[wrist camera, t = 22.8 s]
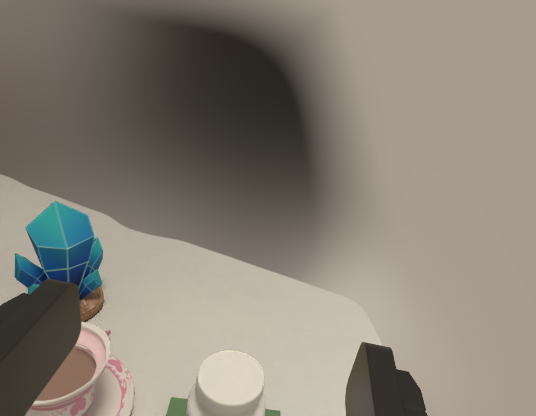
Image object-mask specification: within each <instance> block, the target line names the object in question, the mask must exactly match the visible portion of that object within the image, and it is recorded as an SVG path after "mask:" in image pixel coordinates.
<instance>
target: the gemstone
mask: <svg viewBox="0 0 536 416" xmlns="http://www.w3.org/2000/svg"><path fill="white" fill-rule="evenodd" d="M26 230H27V232H28V235H29V237H30V240H31V242H32V244H33V247H34V249H35V252H36V254H37V256H38V259H39V261H40V263H41V266H42V268H43V269H42V268H40V267H38V266H36V265H35V264H33V263H32V262H30V261H29V260H28V259H26V258H25V257H22V256H20V255H18V254H16V253H15V278H16V279H17V280H18V281H19V282H21V283H22V284H23V285H25V286H26V287H27V288H28V294H31V293H32V292H33V291H34V290H35V289H36V288H37V287H38V286H39V285H40V284H41V283H42V282H43V281H45V280H46V279H55V280H60V281H65V282H70V283H74V284H77V286H78V288H79V299H80V312H81V322H83V321H85V320H87V319H89V318H90V317H92V316H93V315H95V314H96V313H97V312H98V311H99V310H100V308H101V307H102V305H103V301H104V295H103V291H102V289H101V287H100V286H101V285H102V282H101V278H100V275H99V272H98V269H99V266H100V264H101V261H102V258H103V250H102V247H101V244H100V242H99V239H98V237H97V238H95V239H94V236H95V235H94V232H93V229H92V226H91V223H90V220H89V217H88V215H87V214H84V213H82V212H80V211H77V210H75V209H73V208H70V207H68V206H66V205H63V204H61V203H59V202H56V201H54V202H53V203H52V204H51V205H50V206H49V207H47V208H46V209H45V210H44V211H43V212H42V213H41V214H40V215H39V216H38V217H37V218H35V219H34V220H33V221H32V222H31V223H30V224H29V225H28V226H27V227H26Z"/></svg>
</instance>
